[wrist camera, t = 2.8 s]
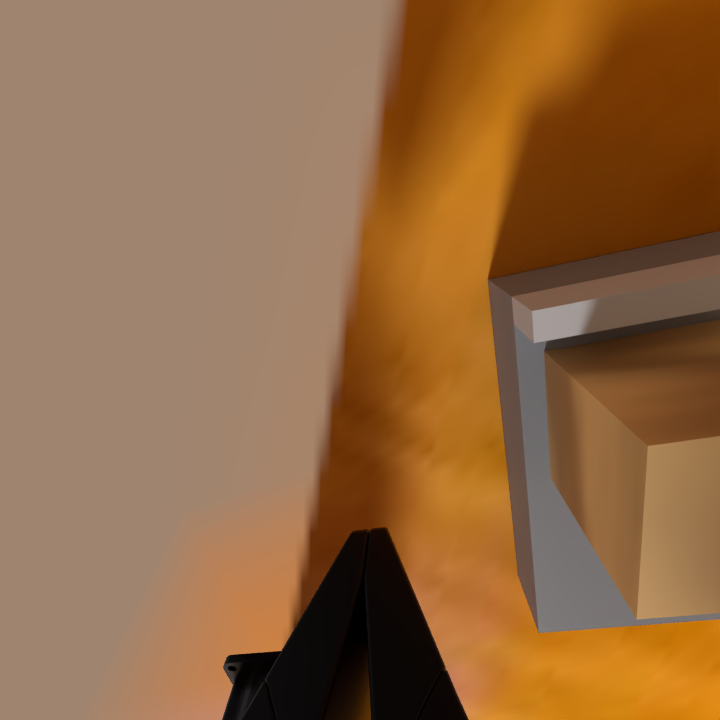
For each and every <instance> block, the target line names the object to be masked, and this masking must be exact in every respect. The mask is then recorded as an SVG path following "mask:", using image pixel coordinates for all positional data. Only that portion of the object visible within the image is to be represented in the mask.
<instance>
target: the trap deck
mask: <svg viewBox="0 0 720 720" xmlns="http://www.w3.org/2000/svg"><path fill="white" fill-rule="evenodd" d="M488 285H489V294H490V304H491V314H492V324H493V334H494V343H495V353H496V363H497V373H498V382H499V392H500V402H501V412H502V421H503V431H504V441H505V451H506V461H507V470H508V480H509V490H510V500H511V509H512V519H513V529H514V539H515V548H516V558H517V568H518V577H519V579H520V582H521V585H522V588H523V590H524V593H525V596H526V599H527V602H528V604H529V607H530V610H531V613H532V615H533V618H534V621H535V624H536V627H537V629H538V632H539V633H544V632H557V631H570V630H583V629H596V628H609V627H623V626H636V625H649V624H662V623H675V622H688V621H701V620H715V619H720V613H714V614H701V615H689V616H676V617H663V618H650V619H638V620H637V619H636V618H635V616H634V614H633V613H632V611H631V609H630V608H629V606H628V605H627V603H626V601H625V600H624V598H623V596H622V595H621V593H620V591H619V590H618V588H617V586H616V585H615V583H614V582H613V580H612V578H611V577H610V575H609V573H608V572H607V570H606V568H605V567H604V565H603V563H602V562H601V560H600V558H599V557H598V555H597V554H596V552H595V550H594V549H593V547H592V545H591V544H590V542H589V540H588V539H587V537H586V535H585V534H584V532H583V531H582V529H581V527H580V526H579V524H578V522H577V521H576V519H575V517H574V516H573V514H572V512H571V511H570V509H569V507H568V506H567V504H566V503H565V501H564V499H563V498H562V496H561V494H560V493H559V491H558V489H557V488H556V486H555V484H554V483H553V481H552V480H551V478H550V459H549V440H548V420H547V400H546V381H545V361H544V351H548V350H553V349H559V348H564V347H570V346H576V345H581V344H587V343H592V342H598V341H603V340H609V339H614V338H620V337H626V336H631V335H637V334H642V333H648V332H653V331H659V330H665V329H670V328H676V327H681V326H687V325H692V324H698V323H704V322H709V321H715V320H720V231H717V232H712V233H708V234H703V235H698V236H693V237H689V238H684V239H679V240H674V241H670V242H665V243H660V244H655V245H651V246H646V247H641V248H636V249H631V250H627V251H622V252H617V253H612V254H608V255H603V256H598V257H593V258H589V259H584V260H579V261H574V262H570V263H565V264H560V265H555V266H551V267H546V268H541V269H536V270H532V271H527V272H522V273H517V274H513V275H508V276H503V277H498V278H494V279H489V280H488Z"/></svg>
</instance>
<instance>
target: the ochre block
mask: <svg viewBox="0 0 720 720" xmlns="http://www.w3.org/2000/svg"><path fill="white" fill-rule="evenodd" d="M544 361H545V381H546V400H547V420H548V440H549V459H550V478H551V480H552V481H553V483H554V484H555V486H556V488H557V489H558V491H559V493H560V494H561V496H562V498H563V499H564V501H565V503H566V504H567V506H568V507H569V509H570V511H571V512H572V514H573V516H574V517H575V519H576V521H577V522H578V524H579V526H580V527H581V529H582V531H583V532H584V534H585V535H586V537H587V539H588V540H589V542H590V544H591V545H592V547H593V549H594V550H595V552H596V554H597V555H598V557H599V558H600V560H601V562H602V563H603V565H604V567H605V568H606V570H607V572H608V573H609V575H610V577H611V578H612V580H613V582H614V583H615V585H616V586H617V588H618V590H619V591H620V593H621V595H622V596H623V598H624V600H625V601H626V603H627V605H628V606H629V608H630V609H631V611H632V613H633V614H634V616H635V618H636V619H637V620H638V619H650V618H663V617H676V616H689V615H701V614H714V613H720V320H715V321H709V322H704V323H698V324H692V325H687V326H681V327H676V328H670V329H665V330H659V331H653V332H648V333H642V334H637V335H631V336H626V337H620V338H614V339H609V340H603V341H598V342H592V343H587V344H581V345H576V346H570V347H564V348H559V349H553V350H548V351H544Z"/></svg>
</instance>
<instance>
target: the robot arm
mask: <svg viewBox="0 0 720 720" xmlns="http://www.w3.org/2000/svg"><path fill="white" fill-rule="evenodd" d="M223 668H224V670H225V672H226V674H227V675H228V677H229V679H230V681H231V682H232V684H233V687H232V691H231V694H230V697H229V700H228V703H227V706H226V709H225V712H224V716H223V719H222V720H469V719H468V717H467V715H466V713H465V711H464V708H463V706H462V704H461V702H460V700H459V697H458V695H457V693H456V691H455V688H454V686H453V683H452V681H451V679H450V676H449V674H448V672H447V671H446V668H445V665H444V662H443V660H442V658H441V655H440V653H439V650H438V648H437V646H436V643H435V641H434V638H433V636H432V634H431V631H430V629H429V627H428V624H427V622H426V619H425V617H424V615H423V612H422V610H421V607H420V605H419V603H418V600H417V598H416V595H415V593H414V591H413V588H412V586H411V584H410V581H409V579H408V576H407V574H406V572H405V569H404V567H403V564H402V562H401V560H400V557H399V555H398V552H397V550H396V548H395V545H394V543H393V541H392V538H391V536H390V533H389V531H388V529H387V528H386V527H382V528H374V529H371V530H370V531H369V530H367V529H366V530H357V531H353V532H352V533H351V534H350V536H349V537H348V539H347V541H346V542H345V544H344V546H343V547H342V549H341V551H340V553H339V554H338V556H337V558H336V559H335V561H334V563H333V564H332V566H331V568H330V569H329V571H328V573H327V575H326V576H325V578H324V580H323V581H322V583H321V585H320V586H319V588H318V590H317V592H316V593H315V595H314V597H313V598H312V600H311V602H310V603H309V605H308V607H307V609H306V610H305V612H304V614H303V615H302V617H301V619H300V620H299V622H298V624H297V626H296V627H295V629H294V631H293V632H292V634H291V636H290V637H289V639H288V641H287V642H286V644H285V646H284V648H283V649H282V651H277V652H264V653H251V654H238V655H229V656H228V657H227V658H226V661H225V664H224V666H223Z"/></svg>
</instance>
